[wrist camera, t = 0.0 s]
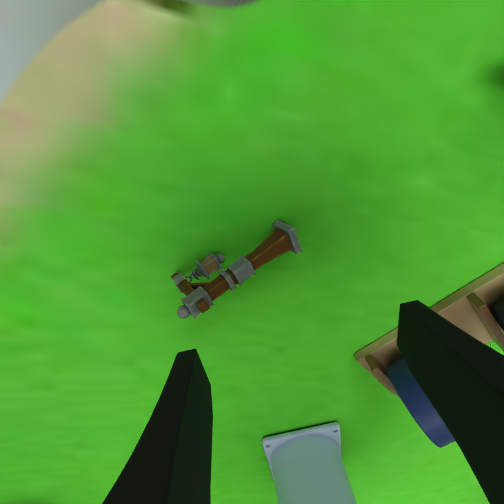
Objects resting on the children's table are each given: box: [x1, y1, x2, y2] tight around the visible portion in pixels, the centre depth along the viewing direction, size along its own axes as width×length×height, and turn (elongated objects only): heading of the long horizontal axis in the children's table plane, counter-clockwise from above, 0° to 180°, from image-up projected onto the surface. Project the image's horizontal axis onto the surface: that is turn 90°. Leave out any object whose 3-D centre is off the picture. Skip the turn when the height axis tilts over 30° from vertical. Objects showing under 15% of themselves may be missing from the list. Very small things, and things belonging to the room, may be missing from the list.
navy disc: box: [386, 357, 456, 448], centre depth 25 cm, size 2×6×6 cm, turn 40°
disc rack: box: [354, 263, 504, 397], centre depth 27 cm, size 14×7×2 cm, turn 131°
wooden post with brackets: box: [171, 220, 302, 318], centre depth 20 cm, size 2×8×4 cm, turn 111°
